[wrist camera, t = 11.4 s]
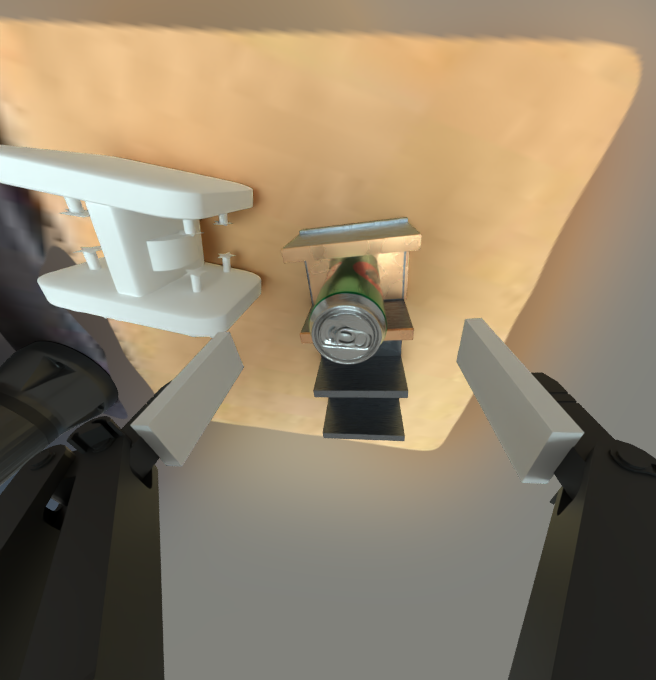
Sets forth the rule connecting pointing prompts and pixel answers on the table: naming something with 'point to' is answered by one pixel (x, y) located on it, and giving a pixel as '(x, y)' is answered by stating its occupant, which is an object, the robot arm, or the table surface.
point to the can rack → (386, 364)
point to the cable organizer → (140, 240)
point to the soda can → (349, 311)
